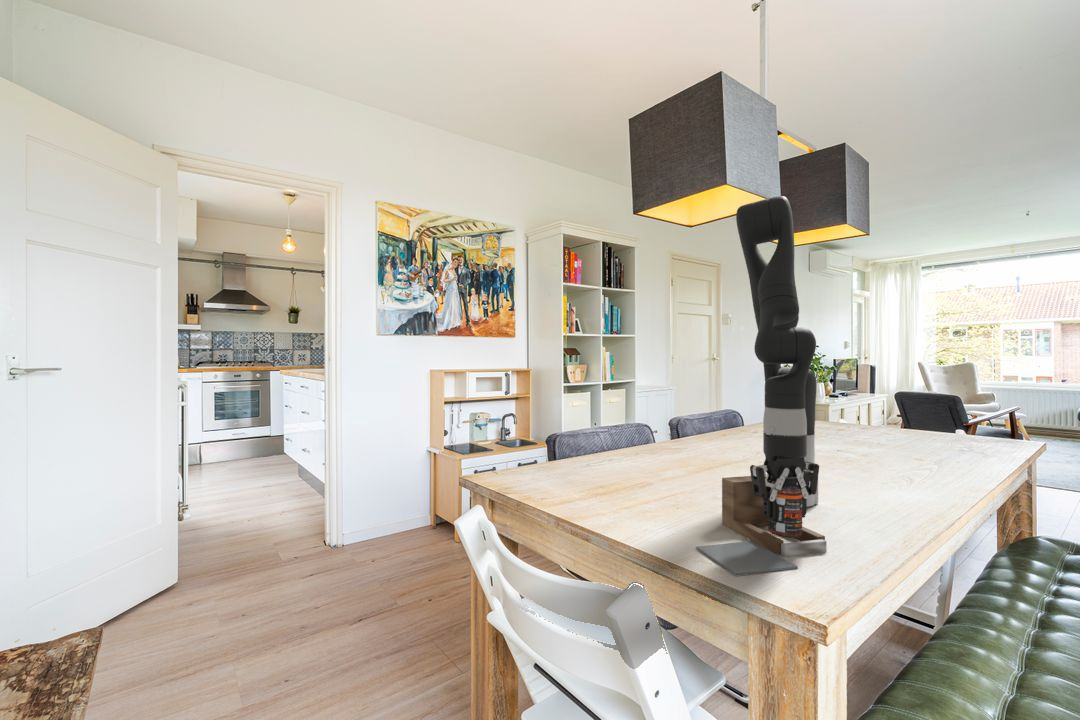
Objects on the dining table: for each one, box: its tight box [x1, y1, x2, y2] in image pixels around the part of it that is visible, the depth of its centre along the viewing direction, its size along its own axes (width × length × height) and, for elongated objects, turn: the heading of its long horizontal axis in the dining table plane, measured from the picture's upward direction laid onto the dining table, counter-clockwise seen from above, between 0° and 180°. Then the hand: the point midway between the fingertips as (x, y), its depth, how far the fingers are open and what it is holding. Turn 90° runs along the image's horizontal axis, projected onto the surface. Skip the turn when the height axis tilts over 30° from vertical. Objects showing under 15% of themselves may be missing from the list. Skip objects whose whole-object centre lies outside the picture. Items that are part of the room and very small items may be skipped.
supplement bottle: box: [767, 476, 803, 539], centre depth 95 cm, size 6×6×11 cm
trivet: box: [695, 540, 799, 577], centre depth 88 cm, size 12×12×1 cm
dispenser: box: [721, 475, 827, 558], centre depth 99 cm, size 11×18×10 cm, turn 14°
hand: (784, 517), depth 95 cm, fingers closed on supplement bottle, 6 cm apart
